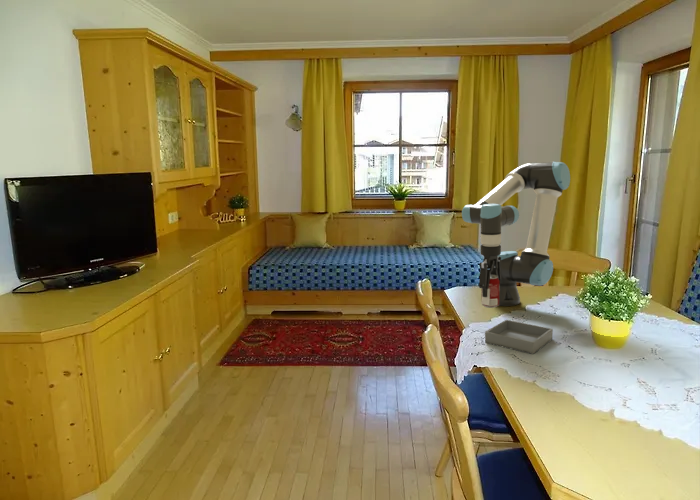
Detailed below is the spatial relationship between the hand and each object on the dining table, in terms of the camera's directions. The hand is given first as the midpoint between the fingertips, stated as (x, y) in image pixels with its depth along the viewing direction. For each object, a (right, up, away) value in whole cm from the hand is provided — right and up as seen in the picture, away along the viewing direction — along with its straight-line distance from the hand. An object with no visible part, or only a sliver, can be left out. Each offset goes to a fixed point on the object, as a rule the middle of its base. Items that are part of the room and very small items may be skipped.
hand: (490, 302), depth 191 cm
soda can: (0, -2, 0) cm, 2 cm away
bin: (+6, -12, -16) cm, 21 cm away
